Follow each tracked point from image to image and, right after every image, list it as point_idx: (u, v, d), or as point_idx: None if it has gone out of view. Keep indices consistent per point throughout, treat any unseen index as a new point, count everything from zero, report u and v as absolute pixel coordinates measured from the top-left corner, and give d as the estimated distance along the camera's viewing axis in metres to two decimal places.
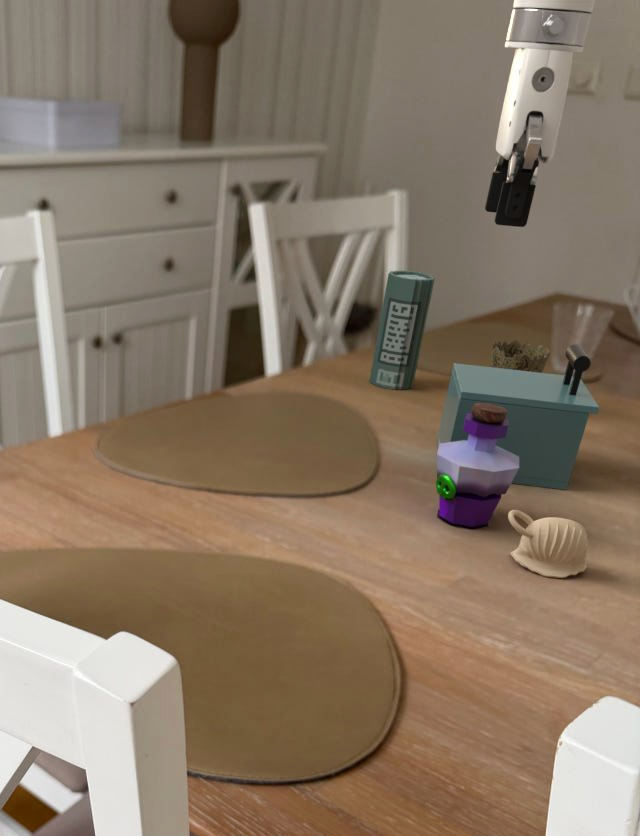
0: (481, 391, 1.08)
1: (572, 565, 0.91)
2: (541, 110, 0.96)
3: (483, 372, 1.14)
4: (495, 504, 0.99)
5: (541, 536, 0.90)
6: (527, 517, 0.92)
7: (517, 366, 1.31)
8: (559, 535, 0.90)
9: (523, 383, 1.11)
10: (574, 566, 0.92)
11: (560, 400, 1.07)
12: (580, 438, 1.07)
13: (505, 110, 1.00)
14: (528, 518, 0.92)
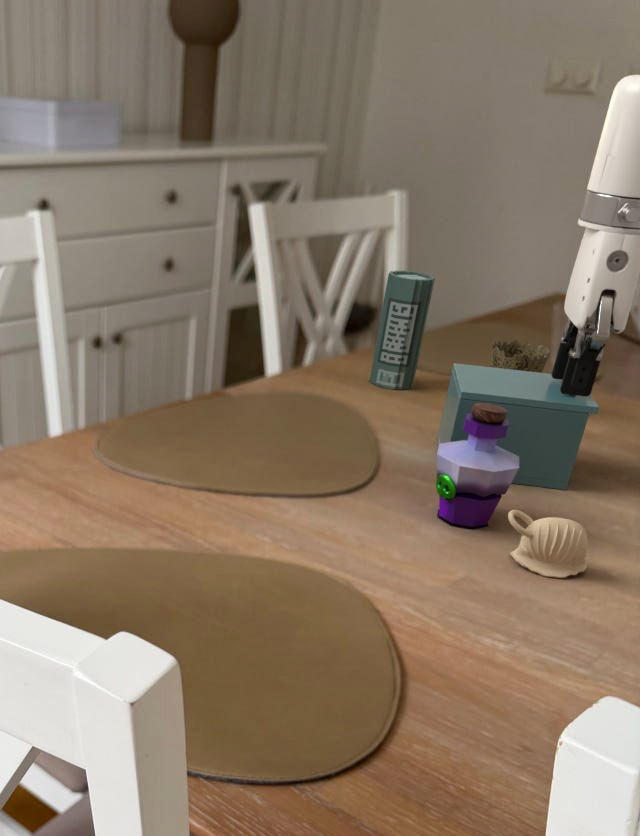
0: (481, 391, 1.08)
1: (572, 565, 0.91)
2: (615, 288, 1.00)
3: (483, 372, 1.14)
4: (495, 504, 0.99)
5: (541, 536, 0.90)
6: (527, 517, 0.92)
7: (517, 366, 1.31)
8: (559, 535, 0.90)
9: (523, 383, 1.11)
10: (574, 566, 0.92)
11: (560, 400, 1.07)
12: (580, 438, 1.07)
13: (577, 281, 1.04)
14: (528, 518, 0.92)
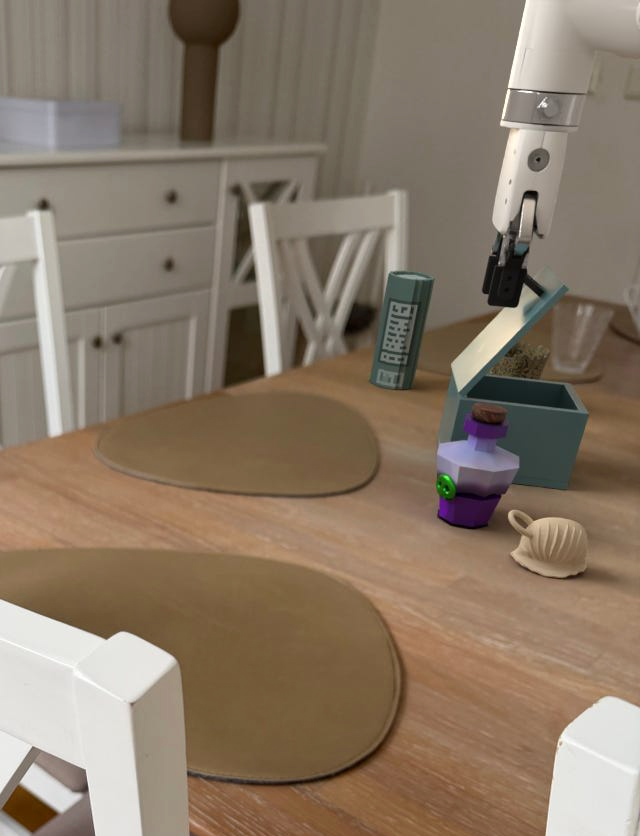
0: (472, 375, 1.07)
1: (572, 565, 0.91)
2: (537, 189, 0.97)
3: (472, 349, 1.13)
4: (495, 504, 0.99)
5: (541, 536, 0.90)
6: (527, 517, 0.92)
7: (517, 366, 1.31)
8: (559, 535, 0.90)
9: (503, 326, 1.09)
10: (574, 566, 0.92)
11: (532, 313, 1.03)
12: (580, 438, 1.07)
13: (501, 186, 1.01)
14: (528, 518, 0.92)
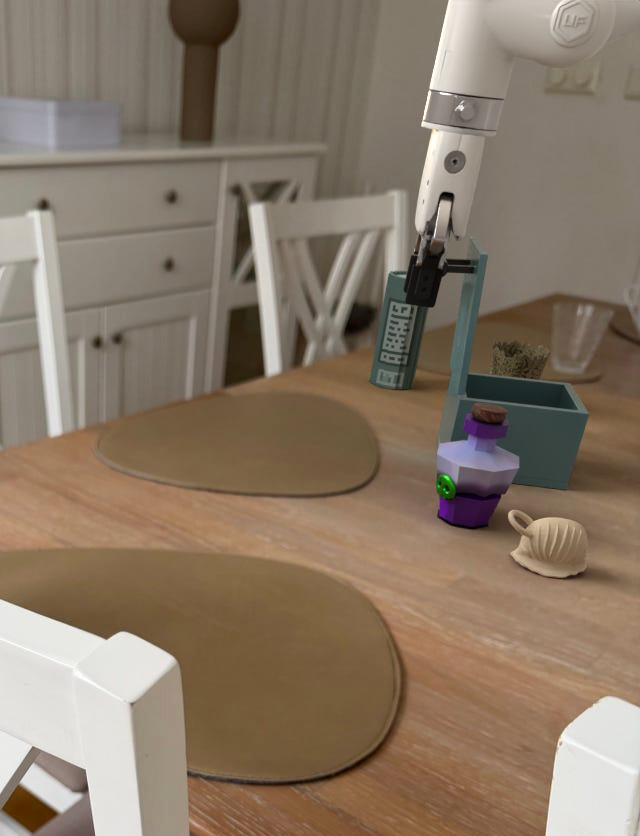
0: (459, 372, 1.07)
1: (572, 565, 0.91)
2: (453, 191, 0.98)
3: (455, 344, 1.13)
4: (495, 504, 0.99)
5: (541, 536, 0.90)
6: (527, 517, 0.92)
7: (517, 366, 1.31)
8: (559, 535, 0.90)
9: (463, 313, 1.09)
10: (574, 566, 0.92)
11: (472, 292, 1.03)
12: (580, 438, 1.07)
13: (421, 187, 1.02)
14: (528, 518, 0.92)
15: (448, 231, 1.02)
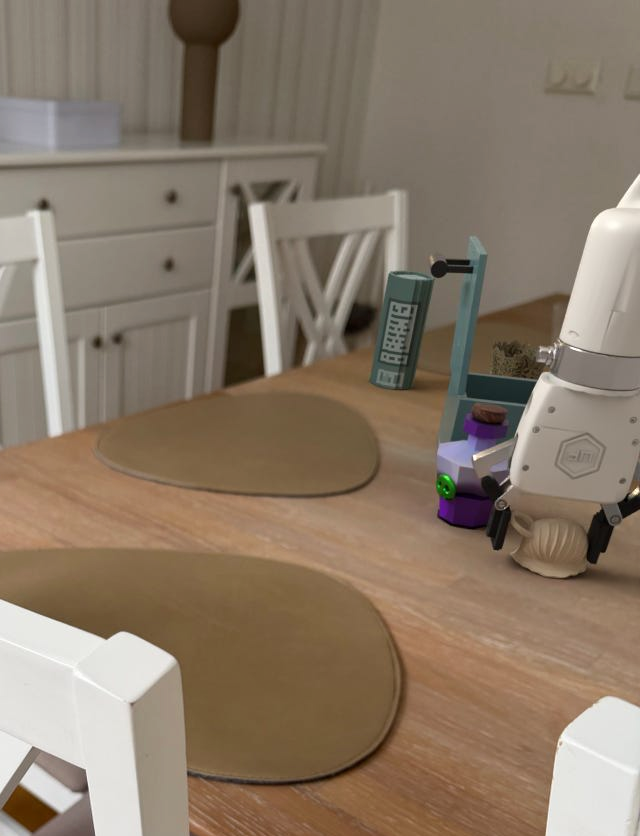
0: (459, 372, 1.07)
1: (572, 565, 0.91)
2: (518, 434, 0.87)
3: (455, 344, 1.13)
4: None
5: (542, 537, 0.90)
6: (527, 517, 0.92)
7: (517, 366, 1.31)
8: (560, 535, 0.90)
9: (463, 313, 1.09)
10: (574, 566, 0.92)
11: (472, 292, 1.03)
12: None
13: None
14: (528, 518, 0.92)
15: None
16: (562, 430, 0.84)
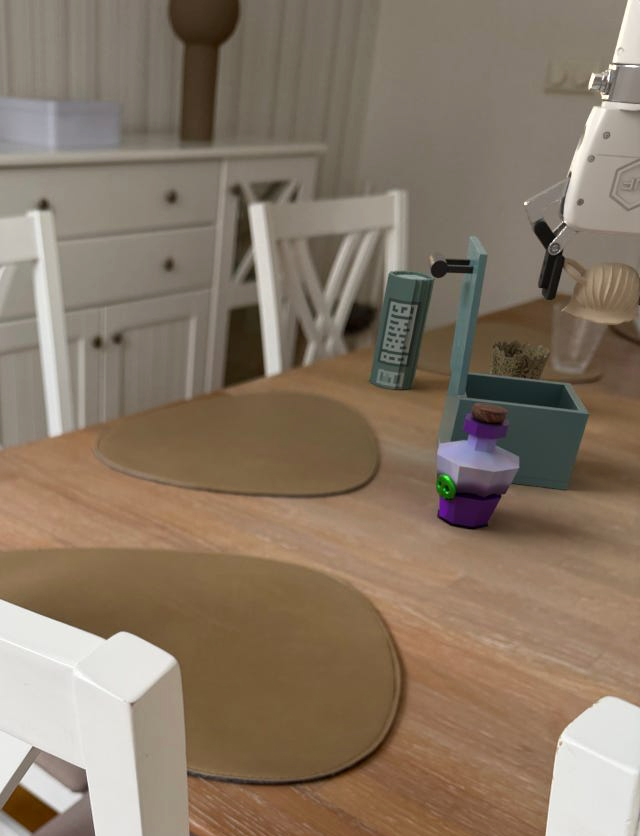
0: (459, 372, 1.07)
1: (626, 312, 0.92)
2: (572, 170, 0.88)
3: (455, 344, 1.13)
4: (495, 504, 0.99)
5: (595, 281, 0.91)
6: (580, 265, 0.92)
7: (517, 366, 1.31)
8: (613, 278, 0.90)
9: (463, 313, 1.09)
10: (627, 313, 0.92)
11: (472, 292, 1.03)
12: (580, 438, 1.07)
13: None
14: (581, 267, 0.92)
15: None
16: (617, 157, 0.85)
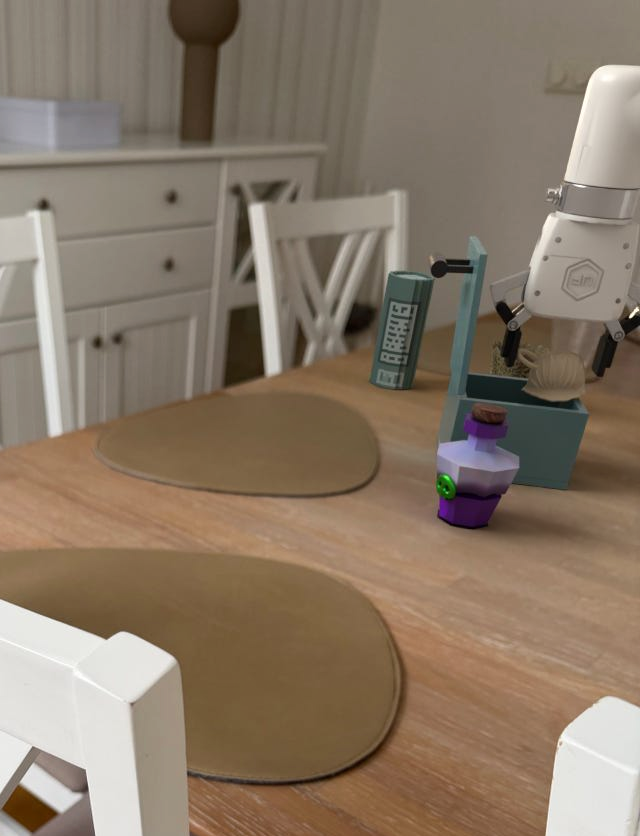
0: (459, 372, 1.07)
1: (573, 390, 1.09)
2: (531, 266, 1.04)
3: (455, 344, 1.13)
4: (495, 504, 0.99)
5: (545, 367, 1.08)
6: (532, 354, 1.10)
7: (517, 366, 1.31)
8: (560, 364, 1.08)
9: (463, 313, 1.09)
10: (575, 391, 1.09)
11: (472, 292, 1.03)
12: (580, 438, 1.07)
13: None
14: (533, 354, 1.10)
15: None
16: (567, 257, 1.01)
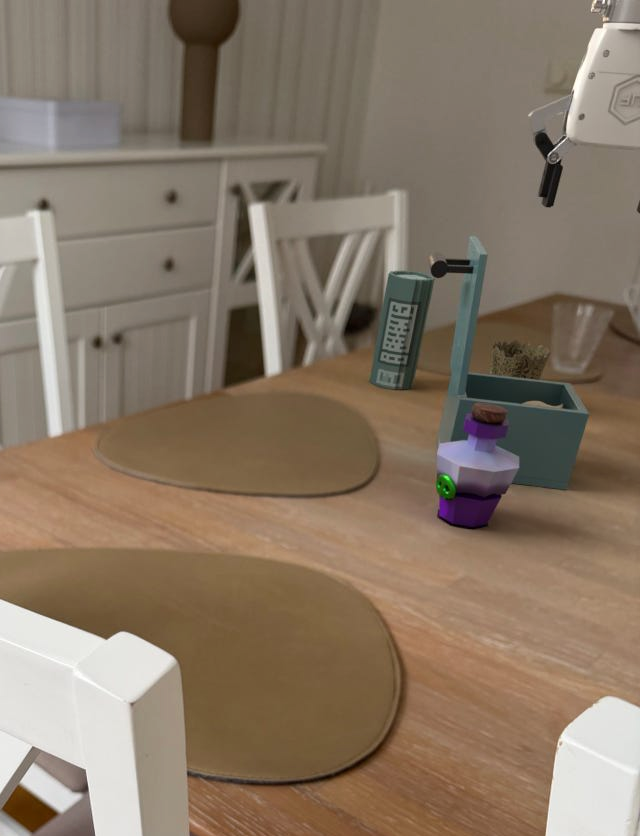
0: (459, 372, 1.07)
1: None
2: (574, 88, 0.96)
3: (455, 344, 1.13)
4: (495, 504, 0.99)
5: None
6: None
7: (517, 366, 1.31)
8: None
9: (463, 313, 1.09)
10: None
11: (472, 292, 1.03)
12: (580, 438, 1.07)
13: None
14: None
15: None
16: (616, 74, 0.93)
